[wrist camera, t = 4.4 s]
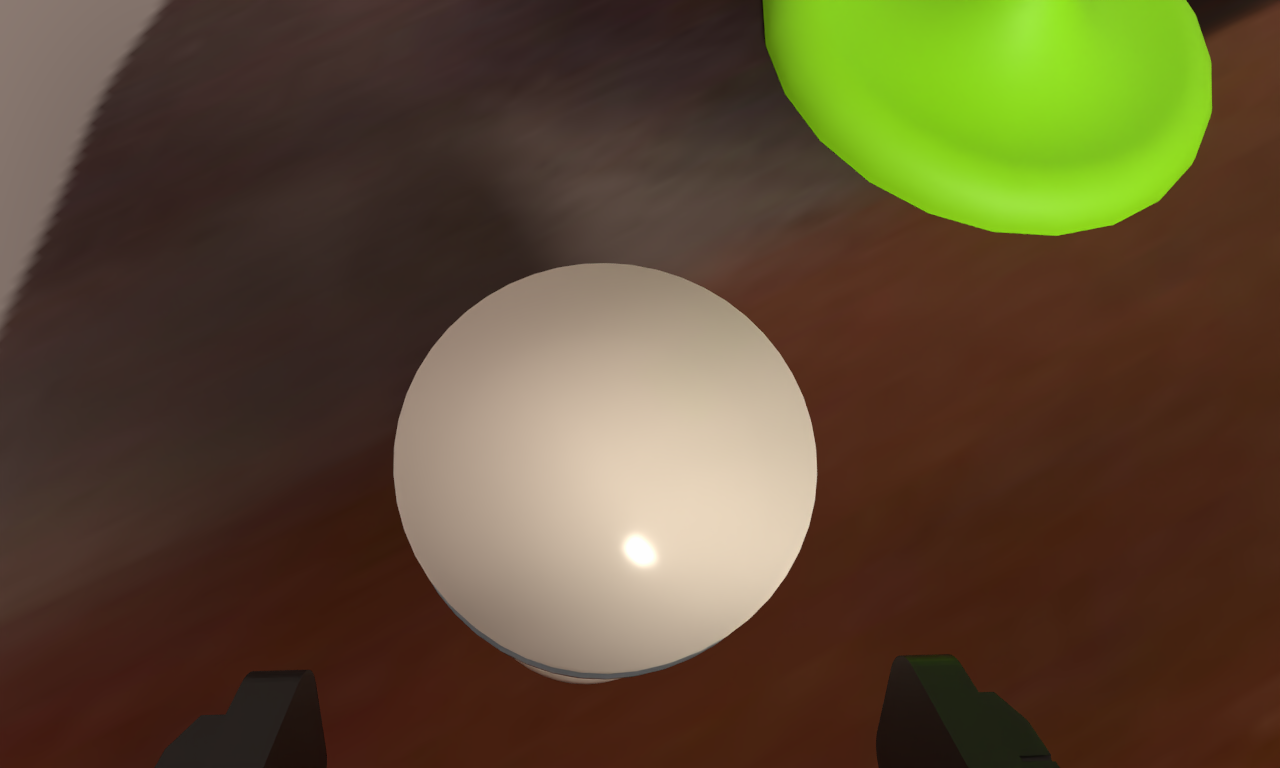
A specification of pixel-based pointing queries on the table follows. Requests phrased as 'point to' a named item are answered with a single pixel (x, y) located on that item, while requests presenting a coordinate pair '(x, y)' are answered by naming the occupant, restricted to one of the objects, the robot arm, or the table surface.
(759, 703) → the table surface
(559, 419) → the cream domed container
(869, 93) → the wineglass
